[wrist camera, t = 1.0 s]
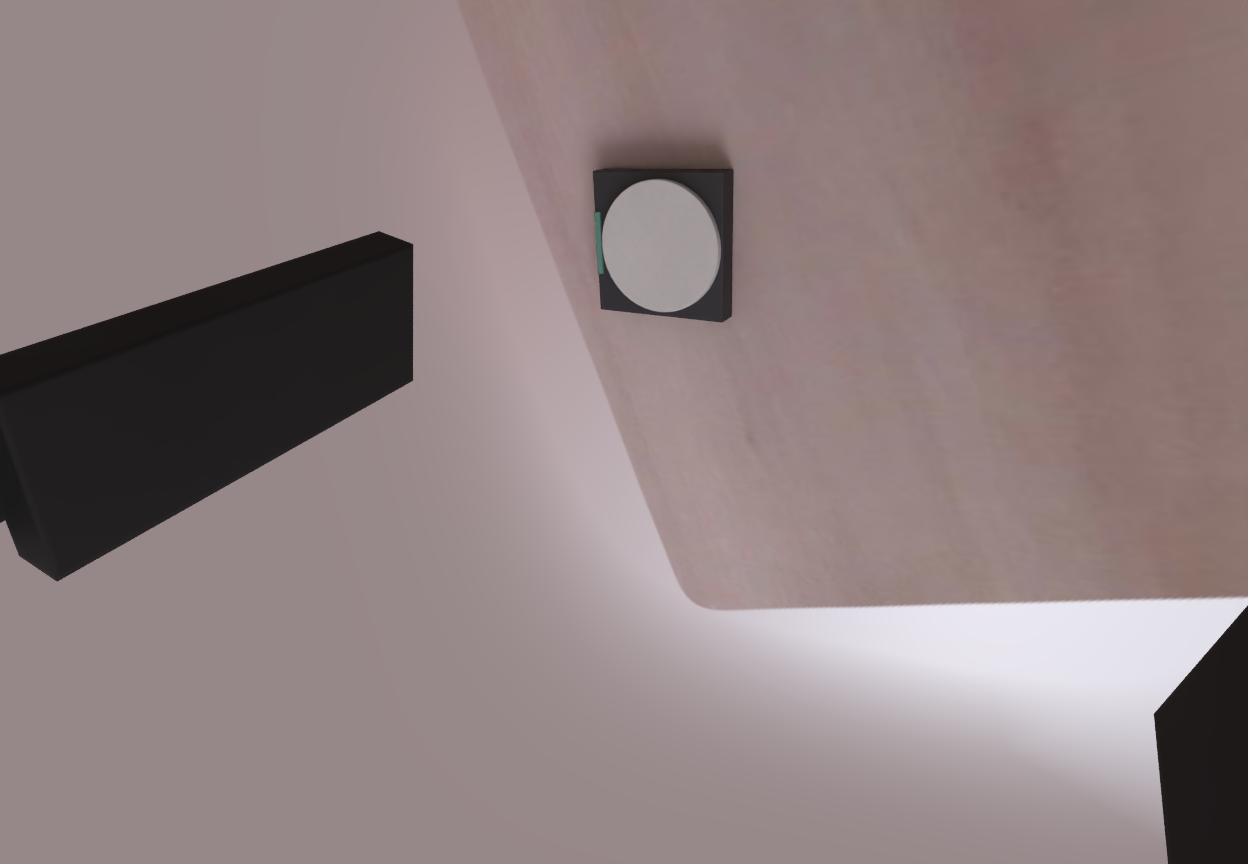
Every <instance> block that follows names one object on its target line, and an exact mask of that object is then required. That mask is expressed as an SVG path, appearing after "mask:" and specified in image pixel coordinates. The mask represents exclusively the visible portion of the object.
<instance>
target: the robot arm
mask: <svg viewBox="0 0 1248 864" xmlns="http://www.w3.org/2000/svg"><path fill="white" fill-rule="evenodd" d="M411 381H413V244H411V243H409V242H406V241H403V240H400V239H398V238H395V237H393V236H390V235H387V234H385V233H382V232H380V231H378V232H375V233H372V234H370V235H366V236H363V237H360V238H357V239H354V240H351V241H348V242H344V243H342V244H338V245H335V246H332V247H329V248H326V249H323V250H320V251H317V252H314V253H311V254H308V255H305V256H302V257H299V258H295V259H292V260H290V261H286V262H283V263H280V264H277V265H274V266H271V267H268V268H265V269H262V270H259V271H256V272H253V273H250V274H246V275H243V276H240V277H237V278H234V279H231V280H228V281H225V282H222V283H219V284H216V285H213V286H210V287H207V288H204V289H201V290H197V291H195V292H192V293H188V294H185V295H182V296H179V297H176V298H173V299H170V300H167V301H164V302H161V303H158V304H155V305H151V306H149V307H145V308H142V309H139V310H136V311H133V312H130V313H127V314H124V315H121V316H118V317H115V318H112V319H109V320H106V321H102V322H99V323H96V324H93V325H90V326H87V327H84V328H81V329H78V330H75V331H72V332H69V333H66V334H63V335H60V336H57V337H53V338H50V339H47V340H44V341H42V342H38V343H35V344H32V345H29V346H26V347H23V348H20V349H17V350H14V351H10V352H7V353H5V354H1V355H0V523H1V522H3V521H5V520H6V523H7V525H8V528H9V531H10V533H11V536H12V538H13V541H14V544H15V546H16V549H17V551H18V554H19V556H20V557H22V558H23V559H25V560H26V561H28V562H29V563H31V564H32V565H34V566H35V567H36V568H38V569H39V570H41V571H42V572H44V573H45V574H47V575H49V576H50V577H51V578H53V579H54V580H56V581H59V580H61V579H62V578H64V577H66V576H68V575H69V574H71V573H73V572H75V571H77V570H78V569H80V568H81V567H84V566H85V565H87V564H89V563H91V562H93V561H94V560H96V559H98V558H100V557H101V556H103V555H105V554H107V553H108V552H110V551H112V550H114V549H116V548H117V547H119V546H121V545H123V544H124V543H126V542H128V541H130V540H131V539H133V538H135V537H137V536H138V535H140V534H142V533H144V532H146V531H147V530H149V529H151V528H153V527H155V526H156V525H158V524H160V523H162V522H163V521H165V520H167V519H169V518H170V517H172V516H174V515H176V514H177V513H179V512H181V511H183V510H185V509H186V508H188V507H190V506H192V505H193V504H195V503H197V502H199V501H201V500H202V499H204V498H205V497H208V496H209V495H211V494H213V493H214V492H217V491H218V490H220V489H222V488H223V487H225V486H227V485H229V484H231V483H232V482H234V481H236V480H238V479H239V478H241V477H243V476H245V475H247V474H248V473H250V472H252V471H254V470H255V469H257V468H259V467H261V466H262V465H264V464H266V463H268V462H270V461H271V460H273V459H275V458H277V457H278V456H280V455H282V454H284V453H286V452H287V451H289V450H291V449H293V448H294V447H296V446H298V445H300V444H302V443H303V442H305V441H307V440H308V439H310V438H312V437H314V436H316V435H317V434H319V433H321V432H323V431H324V430H326V429H328V428H330V427H332V426H333V425H335V424H337V423H339V422H340V421H342V420H344V419H346V418H348V417H349V416H351V415H353V414H355V413H356V412H358V411H360V410H362V409H363V408H365V407H367V406H369V405H371V404H372V403H374V402H376V401H378V400H379V399H381V398H383V397H385V396H386V395H388V394H390V393H392V392H394V391H395V390H397V389H399V388H401V387H403V386H404V385H406V384H408V383H410V382H411ZM1154 719H1155V730H1156V740H1157V751H1158V762H1159V771H1160V783H1161V794H1162V803H1163V814H1164V825H1165V836H1166V846H1167V856H1168V864H1248V606H1247V607H1246V608H1245V609H1244V610H1243V612H1242V613H1241V614H1240V615H1239V616H1238V618H1237V619H1236V620H1235V621H1234V622H1233V623H1232V624H1231V625H1230V627H1229V628H1228V629H1227V630H1226V631H1225V632H1224V634H1223V635H1222V636H1221V637H1220V638H1219V639H1218V640H1217V642H1216V643H1215V644H1214V645H1213V646H1212V647H1211V649H1210V650H1209V651H1208V652H1207V653H1206V654H1205V655H1204V657H1203V658H1202V659H1201V660H1200V661H1199V662H1198V664H1197V665H1196V666H1195V667H1194V668H1193V669H1192V671H1191V672H1190V673H1189V674H1188V675H1187V676H1186V677H1185V679H1184V680H1183V681H1182V682H1181V683H1180V684H1179V686H1178V687H1177V688H1176V689H1175V690H1174V691H1173V693H1172V694H1171V695H1170V696H1169V697H1168V698H1167V699H1166V701H1165V702H1164V703H1163V704H1162V705H1161V706H1160V708H1159V709H1158V710H1157V711H1156V712H1155V713H1154Z"/></svg>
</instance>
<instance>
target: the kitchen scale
mask: <svg viewBox="0 0 1248 864" xmlns="http://www.w3.org/2000/svg"><path fill="white" fill-rule="evenodd" d="M593 182H594V199H595V212H594V213H595V230H596V246H597V263H598V273H599V283H600V300H601V309H604V310H613V311H623V312H632V313H641V314H650V315H659V316H669V317H678V318H687V319H696V320H705V321H714V322H724V321H725V320H727V319H728V318H730V317H731V316H732V233H733V170H732V169H601V170H596V171H593Z"/></svg>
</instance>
